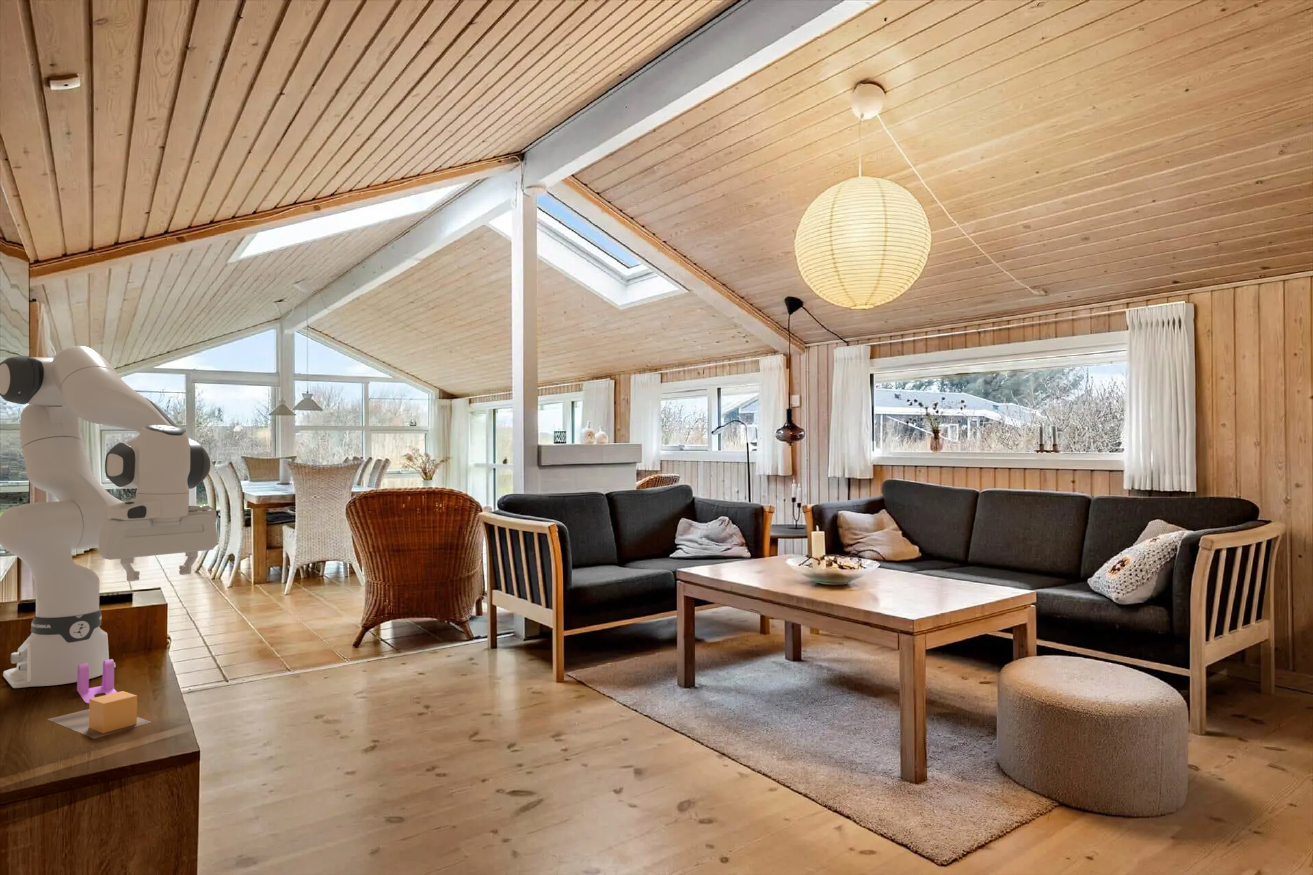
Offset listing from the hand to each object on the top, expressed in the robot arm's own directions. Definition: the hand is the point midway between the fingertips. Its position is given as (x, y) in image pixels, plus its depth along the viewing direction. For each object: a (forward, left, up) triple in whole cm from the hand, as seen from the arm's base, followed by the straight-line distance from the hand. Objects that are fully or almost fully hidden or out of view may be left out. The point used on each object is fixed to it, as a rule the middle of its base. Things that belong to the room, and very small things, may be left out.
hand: (159, 577), depth 147 cm
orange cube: (+10, -12, -24) cm, 28 cm away
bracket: (-13, -4, -25) cm, 29 cm away
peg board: (+5, -12, -25) cm, 28 cm away
